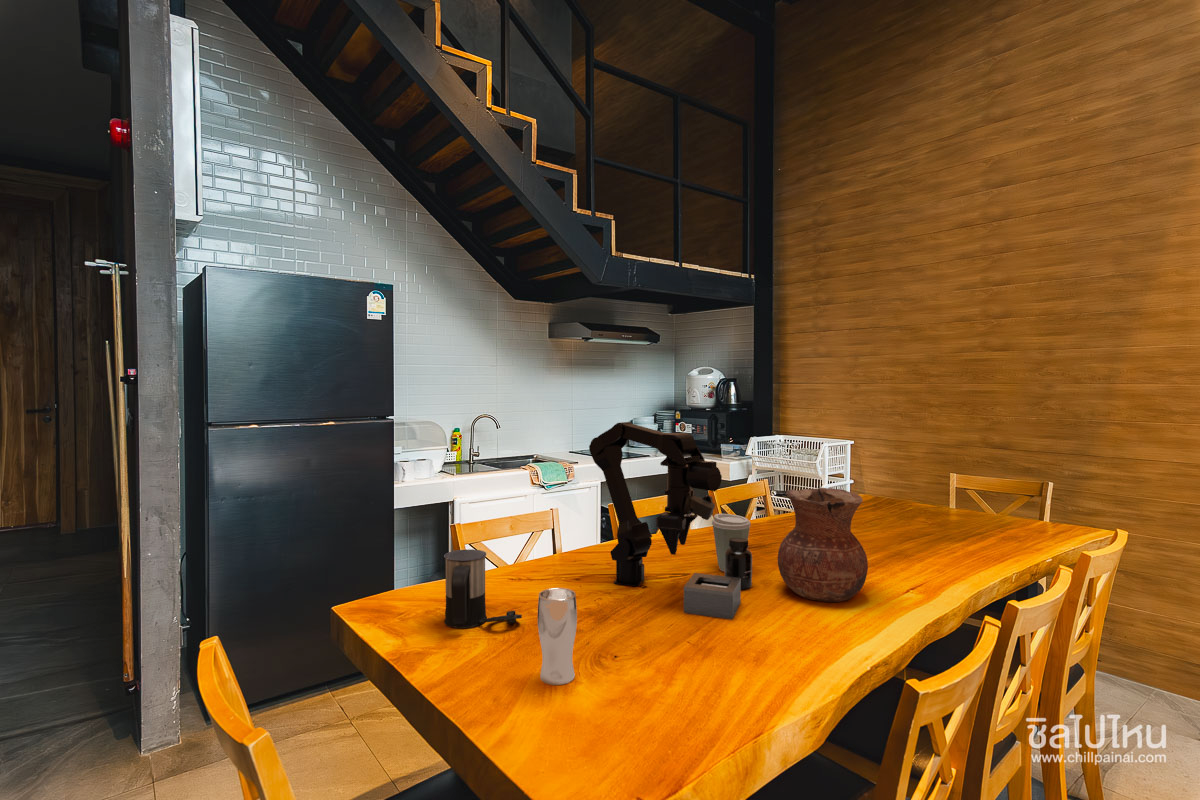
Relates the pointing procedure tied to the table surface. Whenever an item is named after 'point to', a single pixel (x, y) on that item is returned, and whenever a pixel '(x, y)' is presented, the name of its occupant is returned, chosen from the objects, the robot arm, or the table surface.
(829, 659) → the table surface
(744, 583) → the supplement bottle
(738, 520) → the disposable coffee cup
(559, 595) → the beer glass
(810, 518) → the brown clay vase
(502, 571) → the table surface
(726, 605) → the grey hollow block
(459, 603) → the milk frother
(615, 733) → the table surface
